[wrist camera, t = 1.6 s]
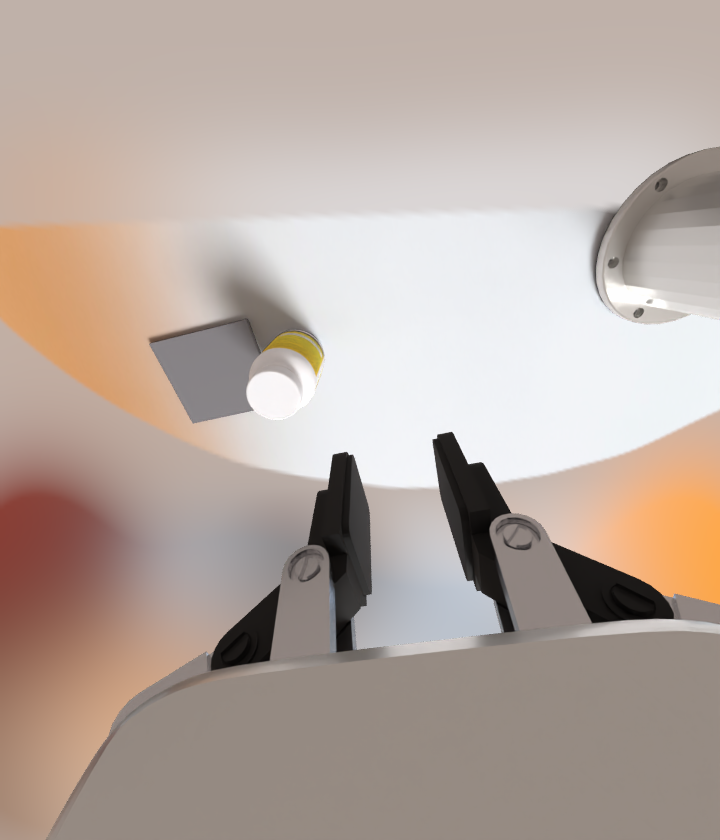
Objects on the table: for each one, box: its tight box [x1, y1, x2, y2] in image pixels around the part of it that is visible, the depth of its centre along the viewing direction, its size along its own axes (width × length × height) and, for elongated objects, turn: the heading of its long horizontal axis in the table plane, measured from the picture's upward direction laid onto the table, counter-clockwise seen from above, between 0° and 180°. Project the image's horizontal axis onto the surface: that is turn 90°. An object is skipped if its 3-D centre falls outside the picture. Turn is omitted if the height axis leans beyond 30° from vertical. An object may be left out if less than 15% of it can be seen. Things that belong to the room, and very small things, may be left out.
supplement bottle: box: [246, 330, 325, 420], centre depth 27 cm, size 5×5×10 cm
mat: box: [149, 319, 261, 423], centre depth 32 cm, size 10×9×1 cm
